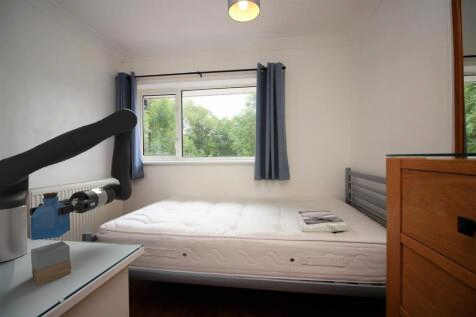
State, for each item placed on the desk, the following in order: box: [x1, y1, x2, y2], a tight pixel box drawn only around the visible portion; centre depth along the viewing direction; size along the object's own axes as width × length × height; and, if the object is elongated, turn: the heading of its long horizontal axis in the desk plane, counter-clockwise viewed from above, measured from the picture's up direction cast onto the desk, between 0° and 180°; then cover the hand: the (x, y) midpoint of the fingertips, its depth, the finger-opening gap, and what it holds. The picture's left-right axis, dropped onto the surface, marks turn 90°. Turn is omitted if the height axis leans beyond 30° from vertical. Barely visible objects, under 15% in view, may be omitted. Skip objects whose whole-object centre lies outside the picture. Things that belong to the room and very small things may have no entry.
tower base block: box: [31, 259, 72, 286], centre depth 59 cm, size 7×7×4 cm
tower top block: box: [30, 240, 71, 271], centre depth 59 cm, size 7×7×4 cm
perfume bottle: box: [30, 192, 71, 241], centre depth 59 cm, size 6×6×12 cm
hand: (44, 212), depth 58 cm, fingers closed on perfume bottle, 8 cm apart
